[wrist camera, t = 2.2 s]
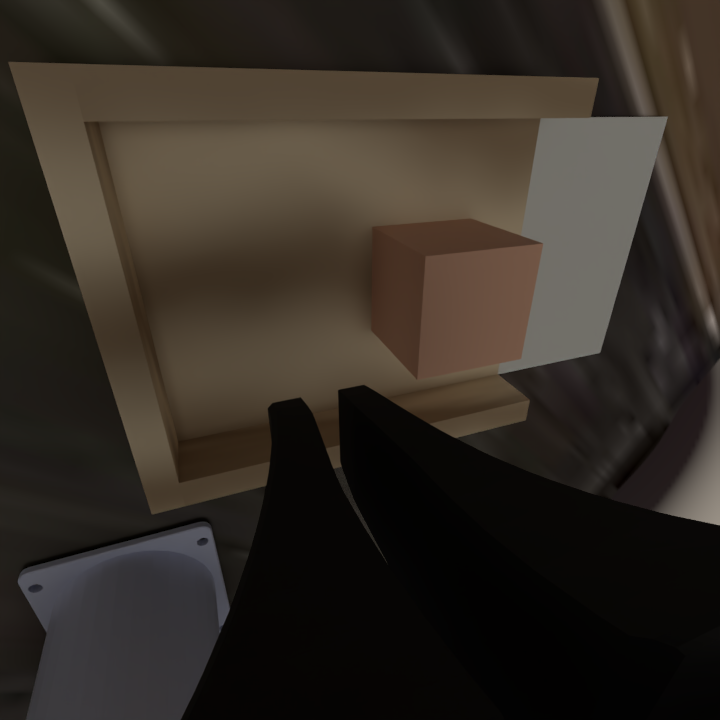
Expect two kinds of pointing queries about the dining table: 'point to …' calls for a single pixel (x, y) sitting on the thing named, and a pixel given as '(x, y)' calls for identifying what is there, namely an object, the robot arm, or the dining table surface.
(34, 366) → the dining table surface
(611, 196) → the grey panel
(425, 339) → the terracotta cube
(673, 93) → the dining table surface
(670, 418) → the dining table surface
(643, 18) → the dining table surface
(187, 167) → the tray
